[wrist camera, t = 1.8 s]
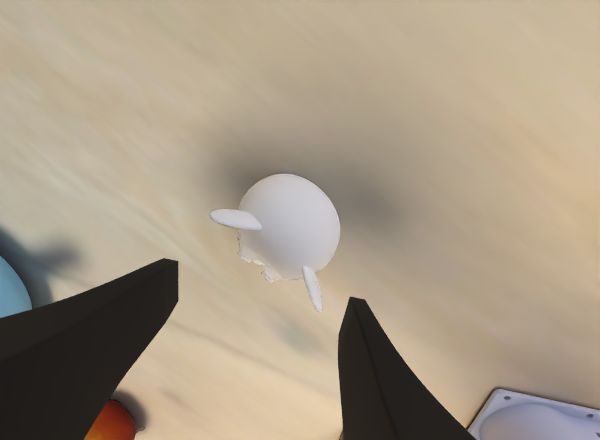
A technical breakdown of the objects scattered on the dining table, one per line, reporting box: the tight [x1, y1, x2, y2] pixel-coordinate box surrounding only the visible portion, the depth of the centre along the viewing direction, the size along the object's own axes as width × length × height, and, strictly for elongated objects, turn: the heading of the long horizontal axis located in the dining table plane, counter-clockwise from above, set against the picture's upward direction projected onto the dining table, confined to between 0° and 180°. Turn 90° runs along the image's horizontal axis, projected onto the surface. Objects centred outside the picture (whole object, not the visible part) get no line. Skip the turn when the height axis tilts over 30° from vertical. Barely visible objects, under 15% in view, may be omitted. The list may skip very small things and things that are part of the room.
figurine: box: [209, 174, 340, 312], centre depth 17 cm, size 8×6×7 cm
